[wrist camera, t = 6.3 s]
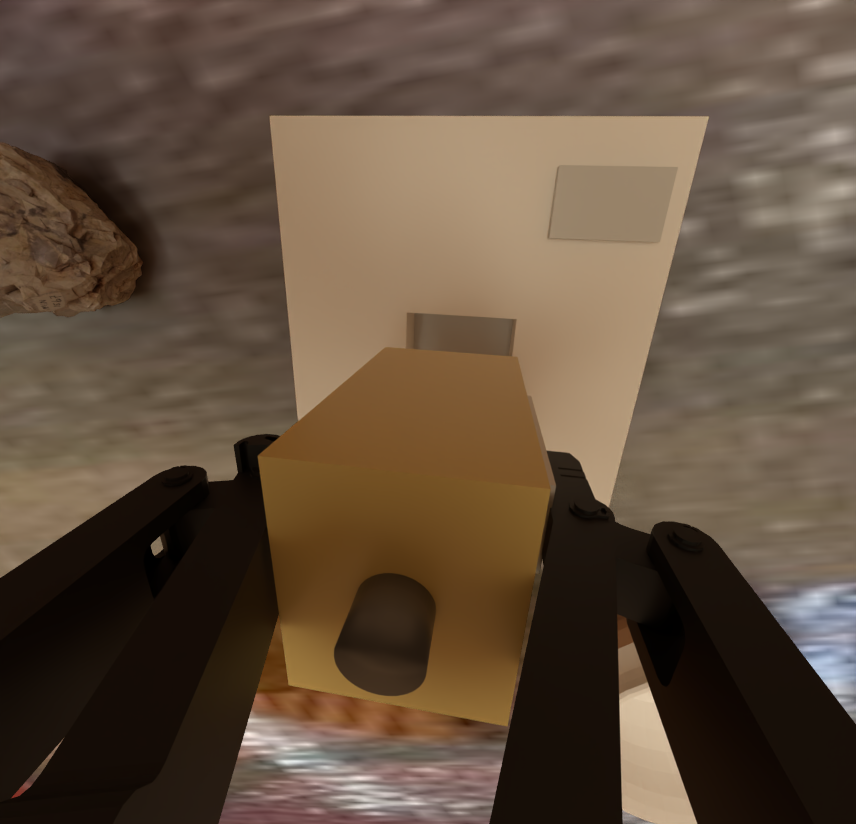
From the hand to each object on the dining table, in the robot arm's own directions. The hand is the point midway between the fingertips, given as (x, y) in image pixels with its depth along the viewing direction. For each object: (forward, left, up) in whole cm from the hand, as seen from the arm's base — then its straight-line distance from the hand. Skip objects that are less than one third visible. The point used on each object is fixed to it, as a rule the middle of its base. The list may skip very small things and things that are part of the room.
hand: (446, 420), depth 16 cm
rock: (-5, -25, -10) cm, 28 cm away
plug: (0, 0, -3) cm, 3 cm away
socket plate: (0, 0, -10) cm, 10 cm away
